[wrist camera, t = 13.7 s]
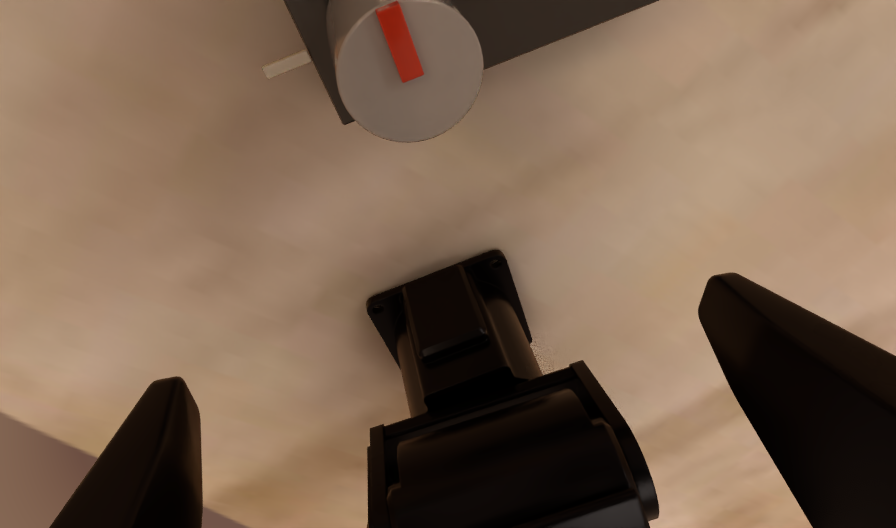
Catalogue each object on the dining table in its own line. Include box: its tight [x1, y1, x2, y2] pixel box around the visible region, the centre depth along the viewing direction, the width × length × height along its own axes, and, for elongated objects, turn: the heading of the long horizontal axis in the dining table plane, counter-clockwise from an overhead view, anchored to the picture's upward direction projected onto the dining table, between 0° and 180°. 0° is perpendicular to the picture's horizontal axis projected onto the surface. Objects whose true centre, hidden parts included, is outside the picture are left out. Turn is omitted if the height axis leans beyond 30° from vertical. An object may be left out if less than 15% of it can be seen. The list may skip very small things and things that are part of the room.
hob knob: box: [326, 0, 484, 142], centre depth 16 cm, size 4×4×4 cm
